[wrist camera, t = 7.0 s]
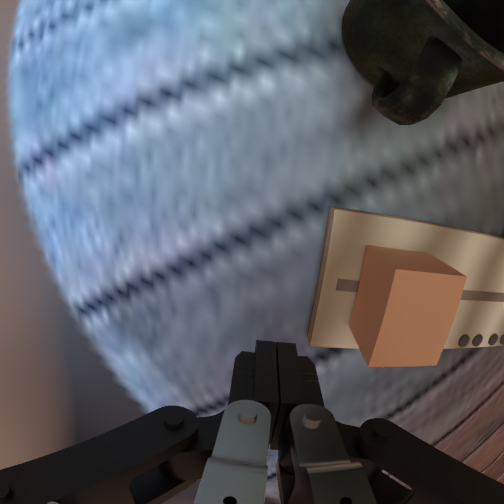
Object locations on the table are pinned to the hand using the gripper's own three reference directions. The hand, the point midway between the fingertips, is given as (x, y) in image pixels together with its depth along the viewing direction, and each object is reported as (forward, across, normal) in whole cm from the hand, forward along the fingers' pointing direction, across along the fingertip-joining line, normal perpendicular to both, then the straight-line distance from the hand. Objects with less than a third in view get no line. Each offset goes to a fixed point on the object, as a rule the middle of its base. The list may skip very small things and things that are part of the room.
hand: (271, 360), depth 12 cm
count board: (+11, -19, 0) cm, 22 cm away
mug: (+11, -8, -17) cm, 22 cm away
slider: (+9, -9, 0) cm, 12 cm away
